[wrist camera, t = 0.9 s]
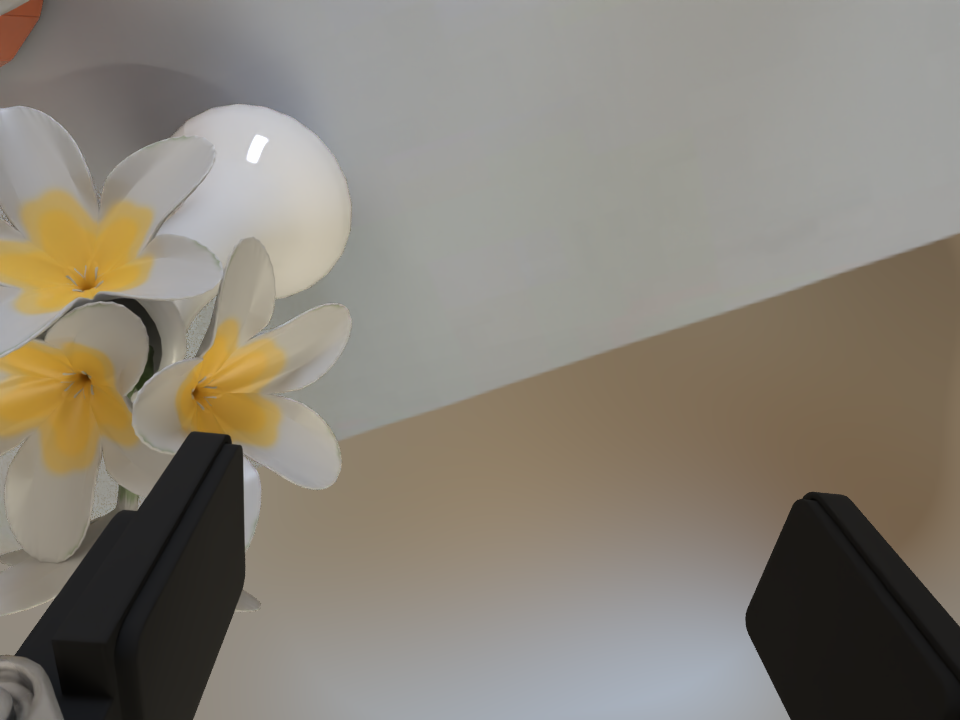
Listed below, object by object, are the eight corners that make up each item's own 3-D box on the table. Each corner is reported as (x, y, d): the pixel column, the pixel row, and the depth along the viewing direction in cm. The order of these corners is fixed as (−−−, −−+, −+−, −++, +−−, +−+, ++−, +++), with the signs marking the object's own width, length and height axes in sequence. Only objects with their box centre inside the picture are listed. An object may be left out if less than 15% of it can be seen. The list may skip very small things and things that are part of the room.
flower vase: (243, -67, 30) (-419, -413, 7) (453, 269, 37) (454, 622, 14) (32, 89, 32) (-954, 198, 10) (268, 375, 39) (21, 818, 17)
